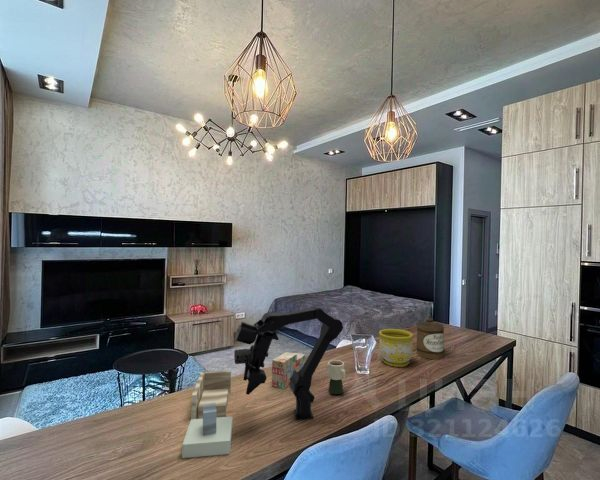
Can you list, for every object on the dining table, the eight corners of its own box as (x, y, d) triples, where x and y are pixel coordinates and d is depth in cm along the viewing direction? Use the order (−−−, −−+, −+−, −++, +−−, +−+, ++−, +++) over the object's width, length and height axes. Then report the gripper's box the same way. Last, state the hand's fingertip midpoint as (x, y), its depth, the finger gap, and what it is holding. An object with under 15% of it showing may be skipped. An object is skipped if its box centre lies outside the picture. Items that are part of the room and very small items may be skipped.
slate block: (216, 433, 101) (216, 411, 101) (203, 435, 99) (203, 413, 100) (215, 423, 106) (215, 402, 107) (202, 425, 105) (203, 404, 105)
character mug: (350, 395, 136) (350, 364, 136) (339, 399, 132) (339, 368, 132) (333, 386, 145) (333, 357, 145) (321, 390, 140) (321, 360, 140)
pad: (229, 453, 97) (230, 440, 97) (182, 458, 95) (182, 444, 95) (232, 427, 111) (232, 416, 111) (190, 431, 109) (191, 419, 109)
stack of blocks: (294, 370, 163) (294, 346, 163) (305, 373, 160) (305, 348, 160) (271, 386, 144) (271, 359, 144) (283, 389, 141) (283, 361, 141)
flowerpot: (420, 366, 169) (420, 335, 169) (392, 371, 162) (392, 339, 163) (398, 355, 186) (398, 327, 186) (372, 359, 179) (372, 330, 179)
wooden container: (427, 360, 178) (427, 321, 178) (411, 352, 192) (411, 315, 192) (449, 358, 182) (449, 319, 182) (432, 350, 196) (432, 314, 197)
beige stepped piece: (226, 417, 117) (227, 393, 118) (191, 420, 115) (191, 395, 116) (230, 390, 139) (230, 370, 139) (200, 392, 137) (201, 371, 137)
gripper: (238, 331, 122) (223, 369, 122) (242, 353, 104) (225, 397, 104) (264, 338, 125) (250, 375, 125) (273, 361, 108) (257, 404, 108)
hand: (245, 386), depth 116 cm, fingers open, 9 cm apart
